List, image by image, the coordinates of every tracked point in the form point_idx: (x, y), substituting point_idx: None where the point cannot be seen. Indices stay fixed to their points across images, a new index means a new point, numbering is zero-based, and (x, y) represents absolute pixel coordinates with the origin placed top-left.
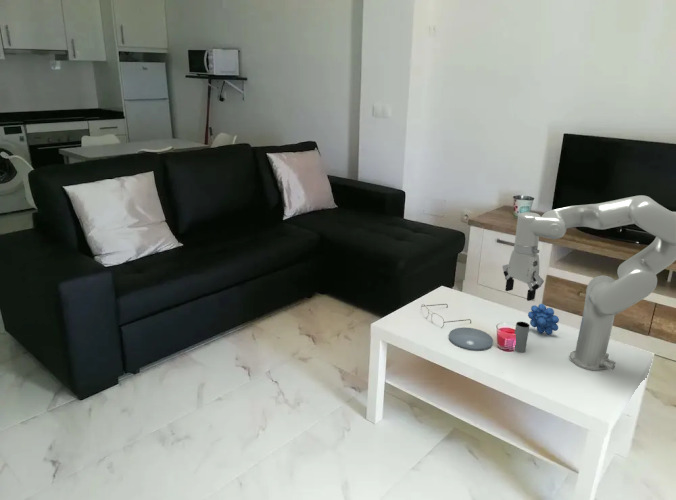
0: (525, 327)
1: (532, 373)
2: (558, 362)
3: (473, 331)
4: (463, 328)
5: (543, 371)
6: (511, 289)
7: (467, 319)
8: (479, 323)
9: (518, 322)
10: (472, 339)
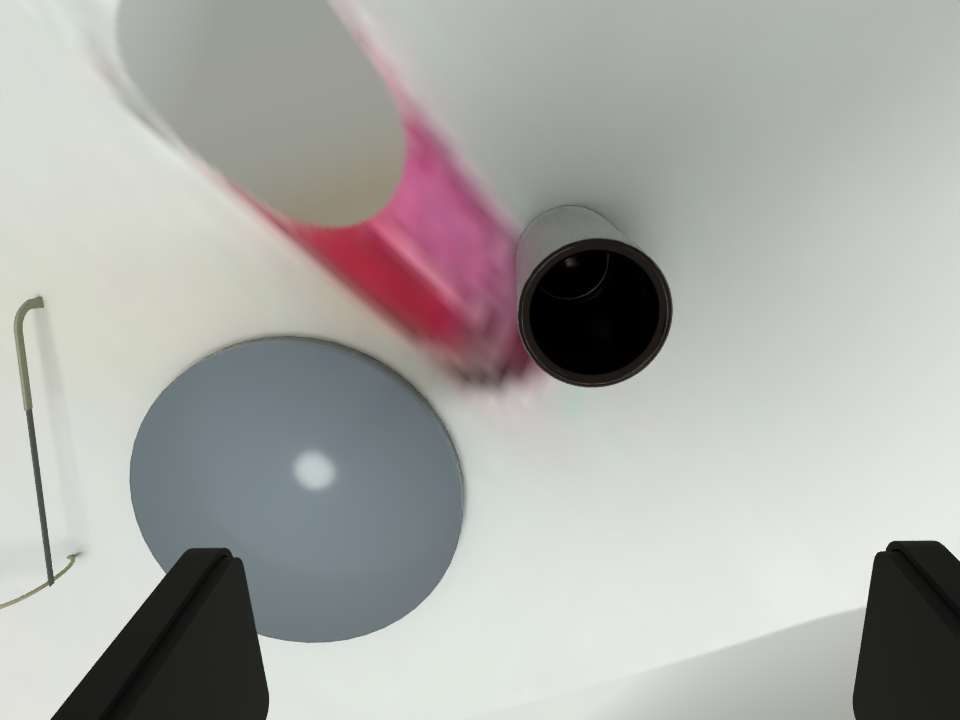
0: (663, 343)
1: (865, 422)
2: (881, 92)
3: (215, 424)
4: (147, 462)
5: (895, 327)
6: (242, 602)
7: (19, 352)
8: (59, 229)
9: (529, 322)
10: (328, 515)
